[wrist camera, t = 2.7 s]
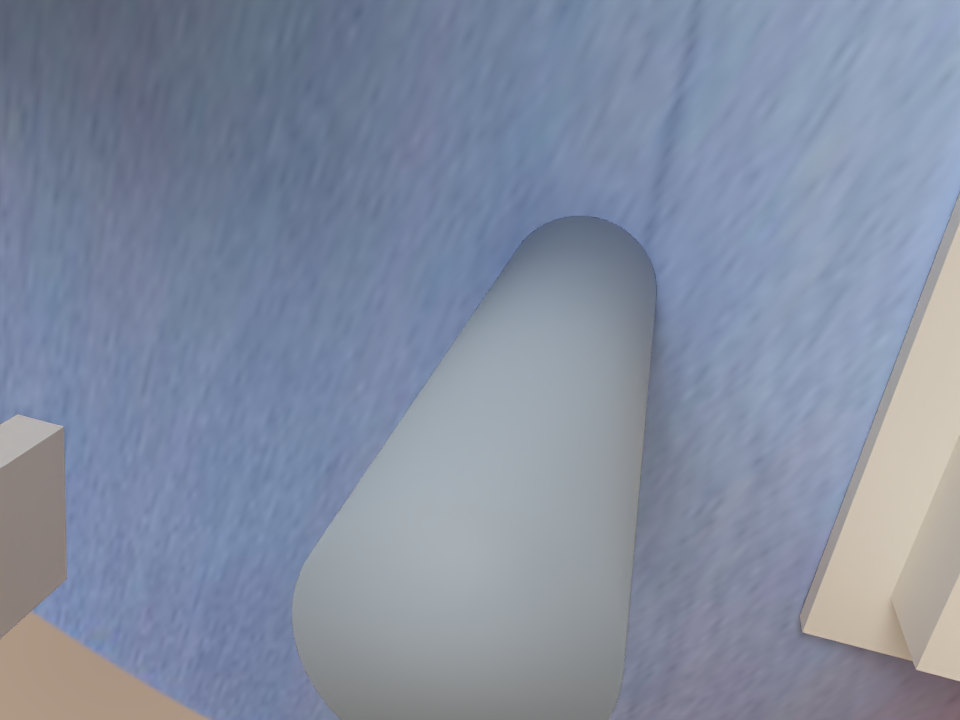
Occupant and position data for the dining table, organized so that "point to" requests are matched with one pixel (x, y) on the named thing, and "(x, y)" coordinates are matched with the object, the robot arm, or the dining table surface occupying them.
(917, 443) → the socket
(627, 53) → the dining table surface
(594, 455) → the peg
